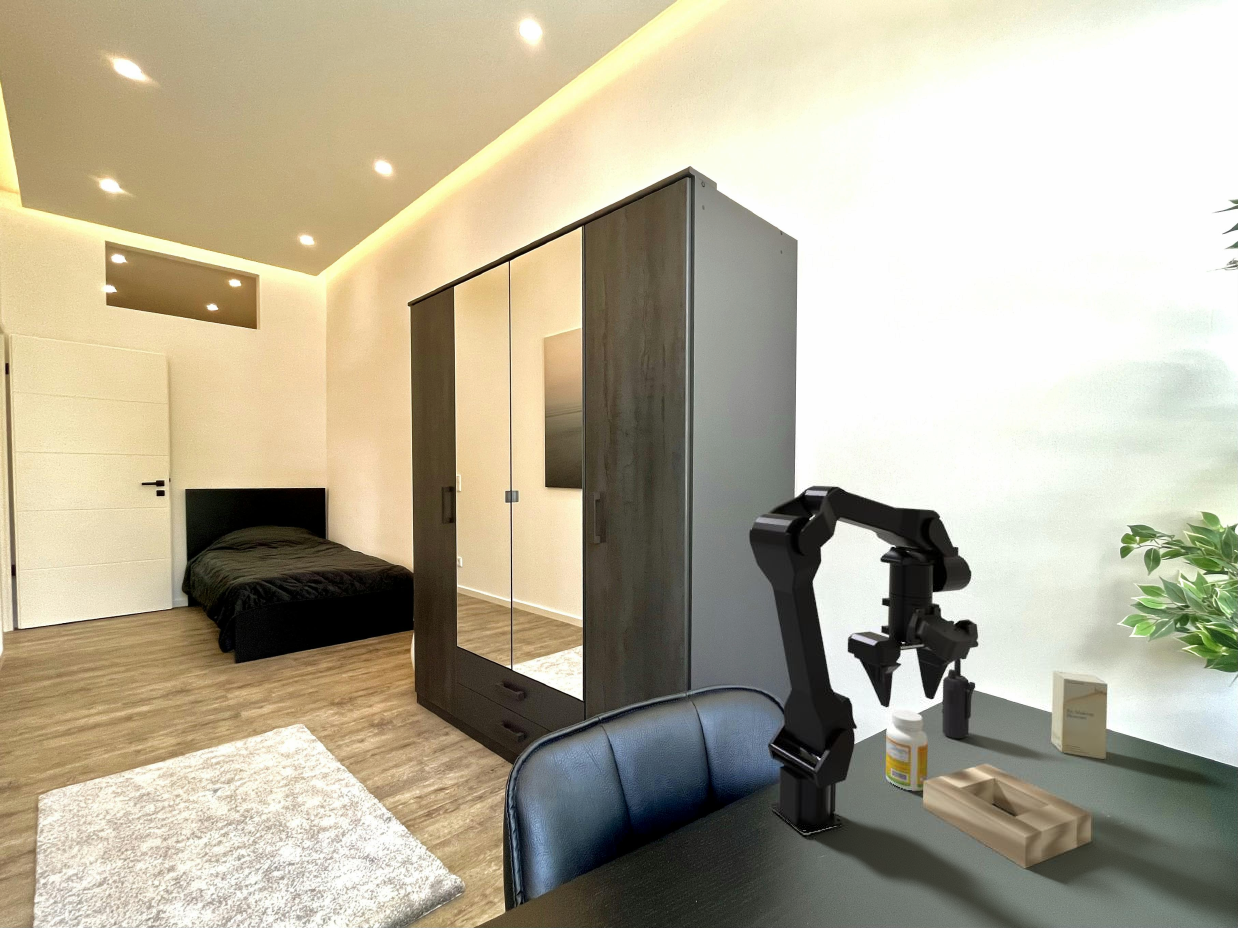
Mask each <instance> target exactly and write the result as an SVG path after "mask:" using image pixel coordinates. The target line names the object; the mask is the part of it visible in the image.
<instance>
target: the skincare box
mask: <svg viewBox="0 0 1238 928" xmlns="http://www.w3.org/2000/svg"><path fill="white" fill-rule="evenodd" d="M1051 697H1052V701H1051V702H1052V704H1051V705H1052V706H1051V707H1052V708H1051V734H1050V735H1051V736H1050V737H1051V740H1050V741H1051V743H1052V744H1053V745H1054V746H1055V747H1056V748H1057V749H1058V750H1059V751H1060V752H1061V753H1064V754H1070V755H1076V756H1083V757H1087V758H1093V759H1099V760H1100V759H1102V760H1106V758H1107V756H1106V755H1107V721H1108V720H1107V718H1108V717H1107V713H1108V683H1107V682H1105V680H1102V679H1100V678H1099V677H1098V676H1096V675H1091V674H1090V675H1089V674H1084V673H1083V674H1081V673H1073V672H1066V671H1065V672H1063V671H1055V670H1053V671H1052V696H1051Z"/></svg>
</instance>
